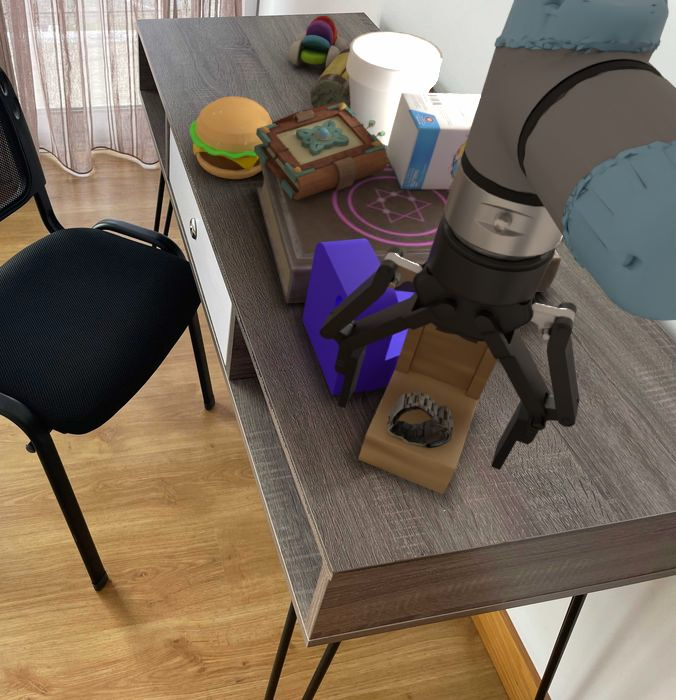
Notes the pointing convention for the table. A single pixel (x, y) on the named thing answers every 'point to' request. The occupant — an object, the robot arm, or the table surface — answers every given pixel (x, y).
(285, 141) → the decorative book
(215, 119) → the hamburger
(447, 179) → the ink box
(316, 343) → the bracket
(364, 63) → the cup
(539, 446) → the table surface
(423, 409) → the wristwatch
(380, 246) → the book
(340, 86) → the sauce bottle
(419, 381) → the two-tone angled block
